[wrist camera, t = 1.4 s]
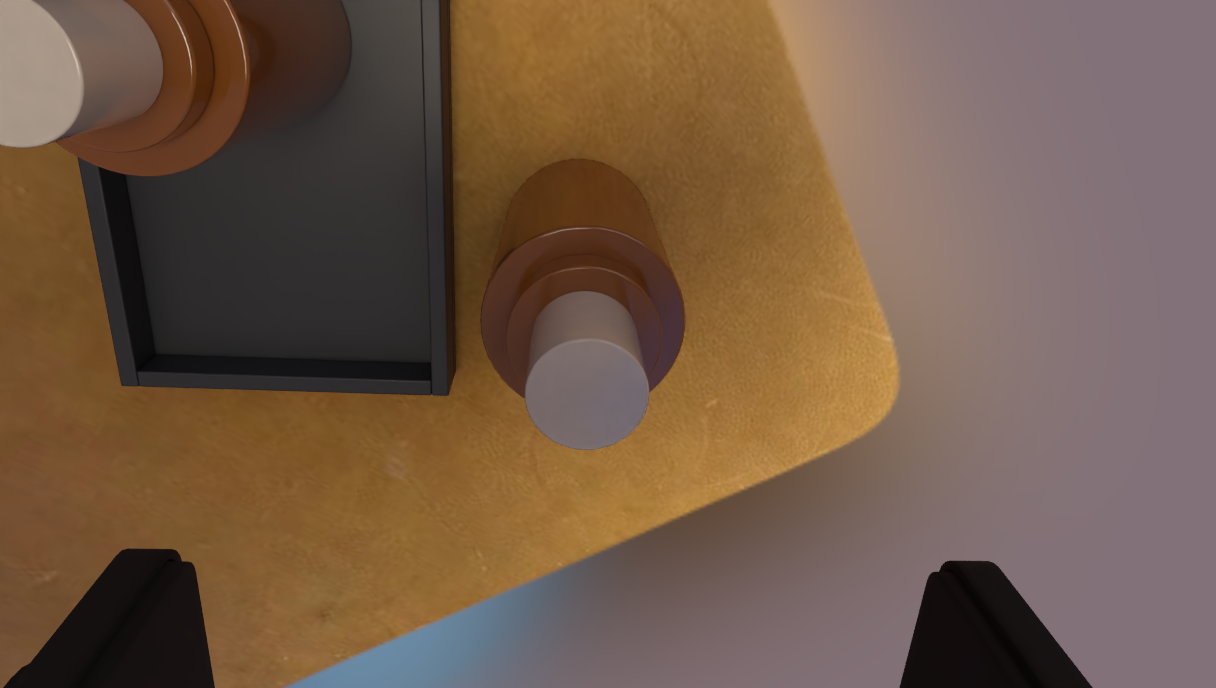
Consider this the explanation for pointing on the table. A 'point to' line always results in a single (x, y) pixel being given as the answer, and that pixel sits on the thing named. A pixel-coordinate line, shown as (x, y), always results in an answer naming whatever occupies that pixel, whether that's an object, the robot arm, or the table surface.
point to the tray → (300, 237)
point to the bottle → (164, 75)
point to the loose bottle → (582, 303)
